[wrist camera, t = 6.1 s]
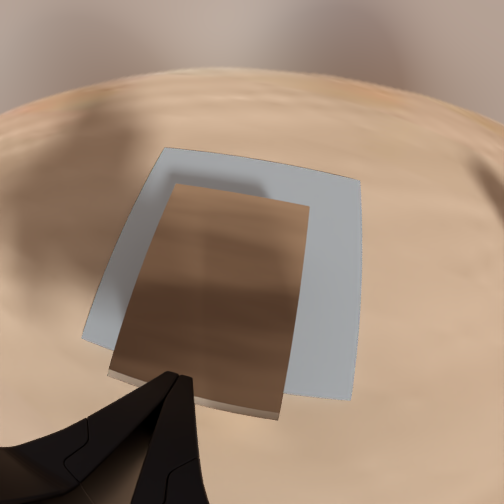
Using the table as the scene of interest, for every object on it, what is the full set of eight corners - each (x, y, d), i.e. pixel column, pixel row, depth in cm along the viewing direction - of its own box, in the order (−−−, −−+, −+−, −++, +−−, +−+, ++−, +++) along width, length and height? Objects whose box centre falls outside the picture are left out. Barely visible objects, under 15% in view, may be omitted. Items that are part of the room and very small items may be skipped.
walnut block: (278, 420, 10) (309, 206, 14) (106, 375, 10) (175, 183, 15) (267, 414, 14) (295, 249, 18) (140, 383, 14) (187, 229, 19)
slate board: (348, 400, 14) (350, 400, 14) (84, 339, 15) (81, 338, 15) (358, 184, 22) (360, 180, 22) (165, 151, 23) (164, 147, 22)
